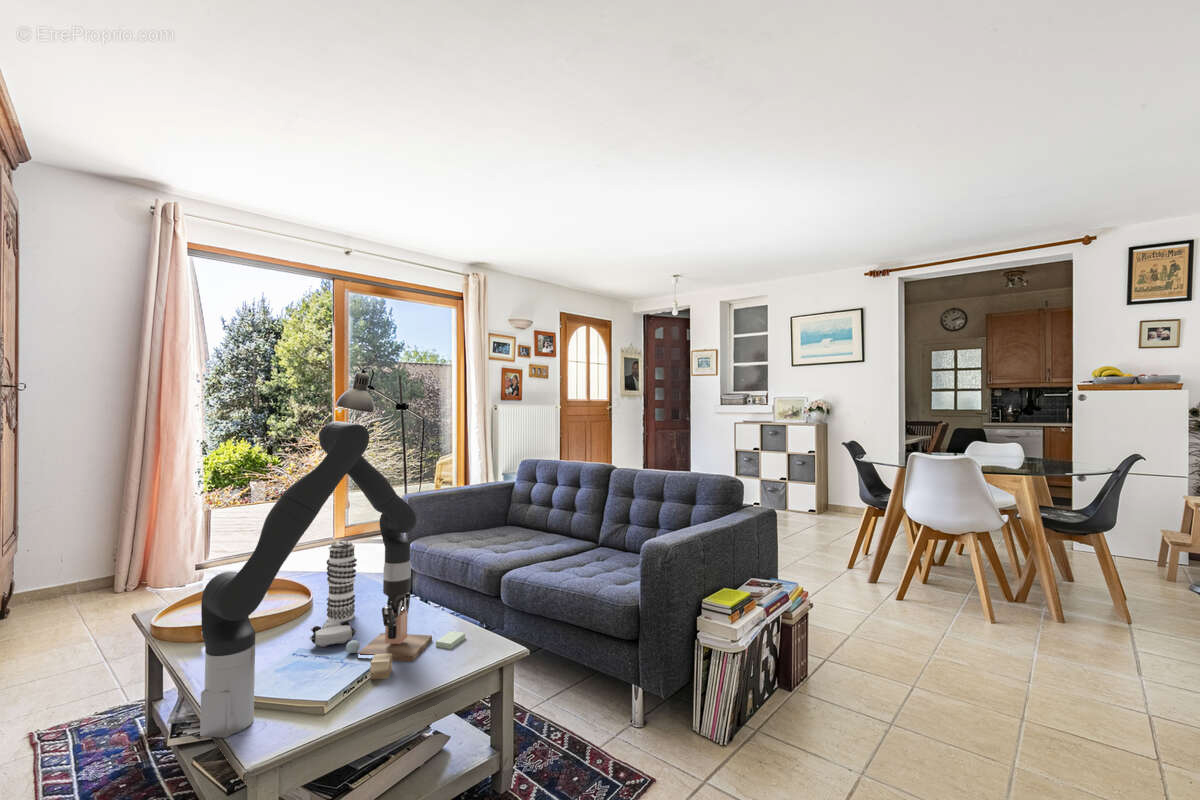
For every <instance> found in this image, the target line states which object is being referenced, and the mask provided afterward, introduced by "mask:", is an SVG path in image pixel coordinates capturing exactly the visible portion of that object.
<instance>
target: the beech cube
mask: <svg viewBox="0 0 1200 800" xmlns="http://www.w3.org/2000/svg"><path fill="white" fill-rule="evenodd" d="M370 671H371V672H370V677H369V678H370V680H379V679H389V678H390V676H391V673H392V671H393V660H392V654H376V655H374V657H373V659H371V660H370Z"/></svg>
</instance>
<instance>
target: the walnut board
mask: <svg viewBox="0 0 1200 800" xmlns="http://www.w3.org/2000/svg"><path fill="white" fill-rule="evenodd" d="M432 641H433V635H430V634H410V633H407V638H406V639H405V640H404V641H403V642H402V643H401V644H393V643H385V632H381V633H380V634H378V635H377V636H376V637H375V638H374V639H372V640H371V641H370V642H368V644H367V645H365V646H363V647H362V648H361V650H358V651H357V652H356V654H360V655H376V654H392V662H393V661H396V662H414V660H416V658H417V657H418V656H419V655H420V654H421V653H422V652H423V651H424V650H425V648H426V647H427V646H429V644H430V643H431V642H432Z"/></svg>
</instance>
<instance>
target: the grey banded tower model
mask: <svg viewBox="0 0 1200 800" xmlns="http://www.w3.org/2000/svg"><path fill="white" fill-rule="evenodd" d="M355 547H356V545H355V544H354V543H352V541H349V540H338V541H335V542H333V543H332V544H331V546H329V547H328V550H329V556H328V559H327V560H326V564H327V566H326V570H327V571H326V574H327V577H326V578H327V579H326V581H327V586H328V594H327V595H328V596H327V599H326V601H327V604H326V605H327V606H328V607H327V608H326V612H327V613H326V616H327V617H326V621H327V622H331V621H339V622H340V623H343V622H345V621H349V620H352V619H353V618H354V617H355V611H356V610H355V607H356V605H355V602H356V599H355V598H356V594H355V589H354V583H355V582H356V578H355V577H356V576H357V574H356V572H357V570H356V569H355V567H357V563H356V562H357V561H358V560H357V558H355Z"/></svg>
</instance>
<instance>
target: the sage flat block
mask: <svg viewBox="0 0 1200 800" xmlns="http://www.w3.org/2000/svg"><path fill="white" fill-rule="evenodd" d="M465 639H466V633H465V632H461V631H453V630H450V631H449V632H447V633H446V634H445V635H443V636H442V637H440V638H438V639H437V640H436V641H435V647H436V648H442V649H446V650H447V649H448V650H451V649H453V648H454V647H456V646H457V645H458V644H459V643H461V642H462V641H464V640H465Z"/></svg>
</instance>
